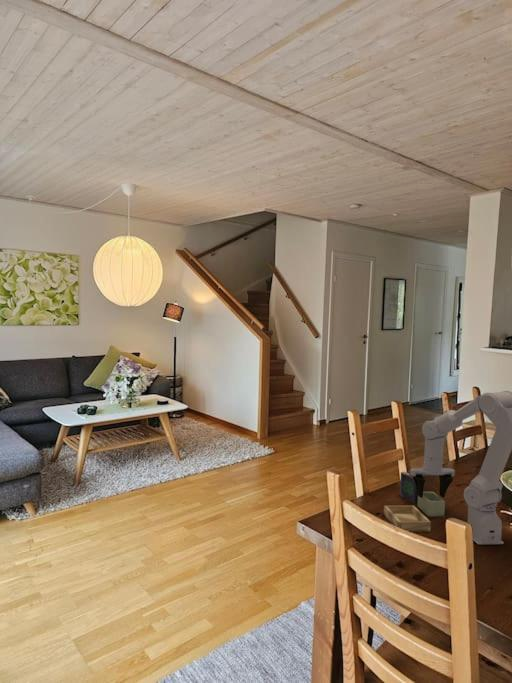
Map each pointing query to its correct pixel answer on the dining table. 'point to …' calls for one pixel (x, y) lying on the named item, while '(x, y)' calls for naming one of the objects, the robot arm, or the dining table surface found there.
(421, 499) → the small crate
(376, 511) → the dining table surface
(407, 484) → the dark blue box
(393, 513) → the beige flat rectangular tray
